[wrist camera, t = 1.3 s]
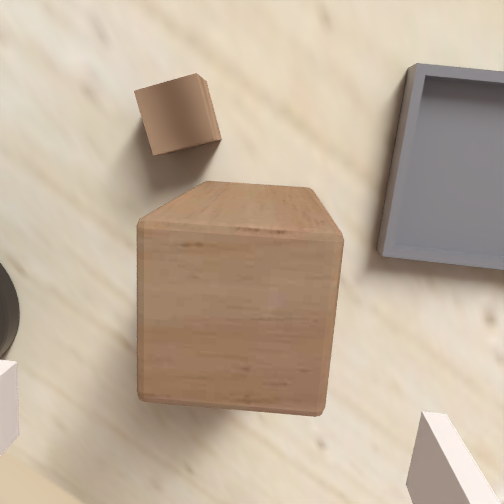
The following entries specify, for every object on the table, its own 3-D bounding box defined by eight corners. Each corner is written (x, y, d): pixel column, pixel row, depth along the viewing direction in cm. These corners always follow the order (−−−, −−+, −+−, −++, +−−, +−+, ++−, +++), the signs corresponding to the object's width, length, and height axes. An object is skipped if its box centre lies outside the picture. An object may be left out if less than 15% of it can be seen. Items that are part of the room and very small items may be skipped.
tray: (376, 249, 41) (382, 256, 39) (408, 68, 37) (417, 63, 35) (548, 268, 41) (566, 276, 38) (599, 86, 37) (621, 83, 34)
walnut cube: (168, 153, 40) (153, 155, 35) (151, 96, 39) (133, 90, 34) (221, 139, 40) (213, 139, 35) (206, 81, 39) (196, 73, 34)
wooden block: (303, 293, 43) (325, 421, 23) (199, 285, 43) (134, 404, 24) (313, 187, 40) (346, 232, 21) (202, 180, 41) (133, 217, 21)
